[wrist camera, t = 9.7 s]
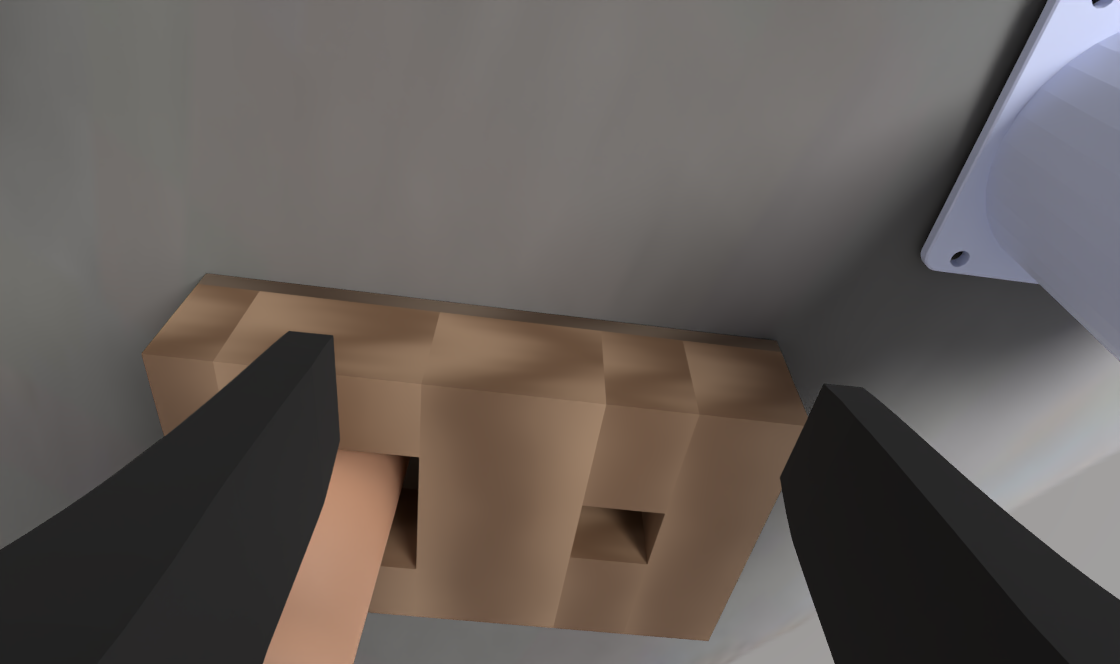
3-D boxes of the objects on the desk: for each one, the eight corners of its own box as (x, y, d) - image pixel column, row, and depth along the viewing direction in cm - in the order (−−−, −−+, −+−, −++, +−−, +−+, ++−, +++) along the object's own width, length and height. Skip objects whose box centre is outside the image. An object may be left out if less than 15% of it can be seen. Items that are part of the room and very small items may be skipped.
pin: (413, 392, 23) (347, 612, 17) (416, 475, 25) (358, 696, 19) (291, 381, 23) (177, 598, 16) (305, 466, 25) (210, 684, 19)
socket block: (776, 340, 23) (812, 426, 19) (692, 549, 29) (708, 641, 26) (206, 273, 21) (141, 353, 18) (250, 508, 28) (208, 598, 24)
